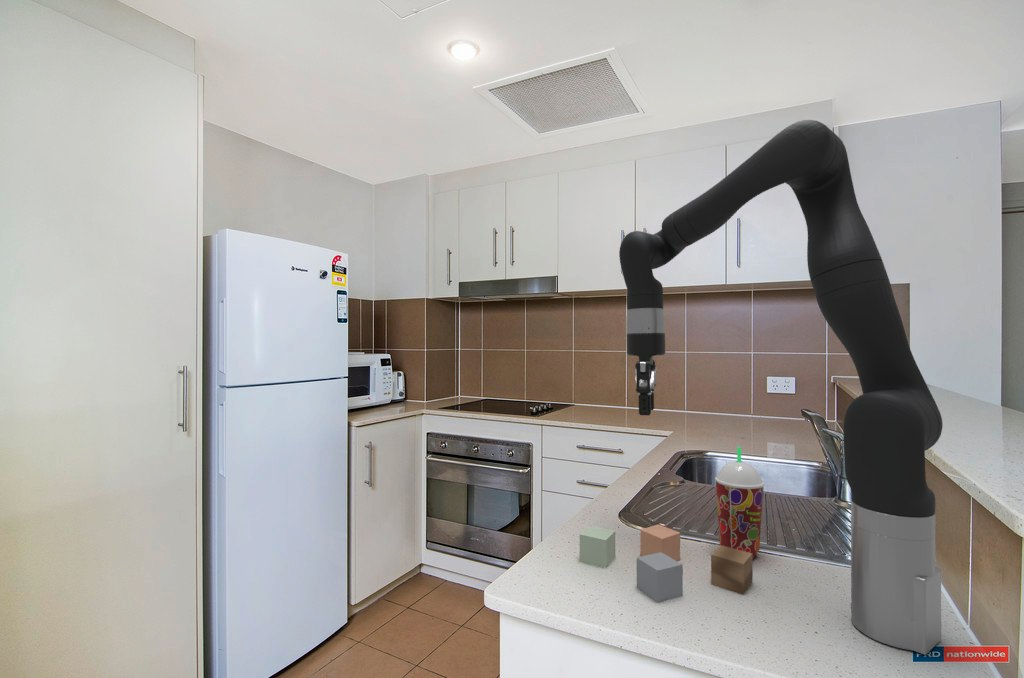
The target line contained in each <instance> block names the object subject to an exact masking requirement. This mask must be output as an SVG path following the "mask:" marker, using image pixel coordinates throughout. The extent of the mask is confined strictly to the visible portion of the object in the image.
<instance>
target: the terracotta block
mask: <svg viewBox="0 0 1024 678" xmlns="http://www.w3.org/2000/svg"><path fill="white" fill-rule="evenodd" d="M639 534H640V538H639V540H640V543H639V544H640V545H639V546H640V547H639V549H640V556H639V557H641V556H646V555H650V554H655V553H659V552H662V553H663V554H665V555H667V556H669V557H670V558H672V559H674V560H676V561H677V562H679V561H681V532H679V531H677V530H674V529H671V528H670V527H666V526H664V525H661V524H659V523H657V524H655V525H652V526H648V527H645V528H643V529H640V533H639Z"/></svg>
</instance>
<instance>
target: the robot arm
mask: <svg viewBox="0 0 1024 678" xmlns="http://www.w3.org/2000/svg"><path fill="white" fill-rule="evenodd" d="M851 173H852V172H851V168H850V162H849V157H848V152H847V148H846V146H845V144H844V141H842V139H841V138H840V137H839V136H838V135H837V134H836V133H835V132H834V131H833V130H831V129H830V128H829V127H828V125H826V124H824V123H822V122H820V121H818V120H814V119H803V120H799V121H796V122H794V123H792V124H790V125H788V126H787V127H785V128H784V129H782V130H781V131H780V132H778V133H777V134H776V135H774V136H772V138H770V139H769V140H768V141H767V142H766V143H765V144H763V146H761V147H760V148H759V149H757V150H756V152H754V153H753V154H752V155H751V156H750V157H749V158H747V159H746V160H745V161H743V162H742V163H741V164H740V165H738V167H736V168H735V169H734V170H732V171H731V172H730V173H729V174H727V175H726V176H725V177H724V178H722V179H721V180H720V181H719V182H717V183H716V184H715V185H713V186H712V187H710V188H709V189H707V190H706V191H705V192H703V193H702V194H700V195H698V196H697V197H696V198H694V199H693V200H690V201H689V202H687V203H686V204H684V205H682V206H681V207H680V208H678V209H676V210H675V211H673V212H671V213H670V214H669V215H667V216H666V217H665V218H664V219H663V220H662V223H661V229H660V230H659V231H657V232H655V233H653V234H652V233H649V232H645V231H641V230H634V231H631V232H629V233H627V234H626V235H625V236H624V238H623V239H622V241H621V244H620V246H619V252H618V254H619V255H618V257H619V263H620V264H619V265H620V268H621V272H622V277H623V280H624V282H625V286H626V290H627V292H626V293H627V295H626V297H627V298H626V305H627V306H626V307H627V309H626V310H627V315H626V323H625V324H626V326H625V327H626V354H627V355H628V356H631V357H632V356H635V357H638V361H636V363H635V366H634V371H635V385H636V388H635V391H636V394H637V396H638V415H640V416H651V414H652V411H653V410H654V409H655V392H656V386H657V373H658V371H657V370H658V366H657V364H656V360H655V359H654V358H653V357H654V356H664V355H665V354H666V322H665V321H666V320H665V312H664V290H663V289H664V288H663V284H662V283H661V281H659V280H658V279H656V278H655V276H654V272H653V270H655V269H658V268H661V267H663V266H665V265H667V264H668V263H669V262H671V261H672V260H673V259H675V258H676V257H677V256H678V255H679V254H680V253H681V252H683V251H684V250H685V249H686V248H687V247H689V246H691V245H693V244H695V243H697V242H698V241H701V240H702V239H704V238H706V237H708V236H709V235H711V234H712V233H715V231H717V230H718V229H720V228H721V227H723V226H724V225H725V224H726V223H727V222H728V221H729V220H730V219H732V217H733V216H734V215H735V214H736V213H737V212H738V211H739V210H740V209H741V208H742V207H744V206H745V205H746V204H748V203H749V202H750V201H751V200H753V199H754V198H756V197H757V196H759V195H761V194H763V193H764V192H766V191H768V190H771V189H773V188H775V187H778V186H781V185H783V184H786V185H788V186H789V187H790V188H791V189H792V191H793V193H794V195H795V197H796V199H797V201H798V204H799V207H800V209H801V211H802V214H803V217H804V220H805V223H806V224H805V225H806V229H807V230H806V231H807V245H806V246H807V247H806V248H807V249H806V255H807V256H806V258H807V270H808V275H809V278H810V279H809V280H810V283H811V284H812V285H811V286H812V288H813V289H812V290H813V292H814V295H815V299H816V302H817V304H818V308H819V309H820V312H821V314H822V316H823V317H824V320H825V321H826V323H827V324H828V326H829V328H830V329H831V330H832V331H833V333H834V335H835V336H836V337H837V339H838V340H839V341H840V343H841V344H842V346H843V347H844V348H845V350H846V352H847V353H848V354H849V356H850V358H851V359H852V362H853V364H854V367H855V370H856V373H857V377H858V380H859V383H860V387H861V391H862V394H861V395H859V396H857V397H856V398H854V399H853V400H852V401H851V402H850V403H849V405H848V406H847V408H846V409H845V410H846V411H845V412H844V413H845V414H844V418H843V426H842V427H843V428H842V429H843V430H842V431H843V433H842V436H843V455H844V456H843V457H844V459H843V460H844V472H845V473H844V474H845V479H846V481H847V483H848V485H849V489H850V522H851V523H850V595H851V596H850V611H851V612H850V613H851V614H850V620H851V622H852V624H853V625H854V627H855V628H856V629H857V630H858V631H860V632H861V633H863V634H864V635H865V636H867V637H869V638H871V639H873V640H875V641H877V642H880V643H882V644H885V645H888V646H891V647H894V648H897V649H903V650H908V651H914V652H916V653H919V654H921V655H923V656H924V655H925V656H926V655H927V654H929V652H930V651H931V650H933V648H935V646H937V644H938V643H939V642H940V641H941V640H942V570H941V568H940V567H937V566H936V495H935V493H934V492H933V490H932V489H931V488H929V485H928V483H927V479H926V478H927V477H926V451H928V450H929V449H931V448H932V447H933V446H934V445H936V443H937V442H939V439H940V438H941V436H942V431H943V417H942V414H941V411H940V409H939V407H938V405H937V402H936V401H935V399H934V397H933V395H932V393H931V390H930V389H929V386H928V384H927V383H926V380H925V378H924V377H923V374H922V373H921V370H920V368H919V366H918V364H917V362H916V360H915V358H914V355H913V352H912V350H911V347H910V344H909V340H908V337H907V335H906V330H905V327H904V323H903V320H902V317H901V314H900V310H899V307H898V305H897V302H896V299H895V296H894V291H893V289H892V286H891V282H890V279H889V275H888V272H887V269H886V267H885V263H884V261H883V259H882V256H881V254H880V251H879V249H878V247H877V244H876V241H875V238H874V237H873V234H872V233H871V230H870V227H869V225H868V223H867V221H866V219H865V217H864V215H863V213H862V210H861V209H860V206H859V204H858V200H857V195H856V193H855V187H854V183H853V178H852V174H851Z"/></svg>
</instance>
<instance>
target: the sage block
mask: <svg viewBox="0 0 1024 678" xmlns="http://www.w3.org/2000/svg"><path fill="white" fill-rule="evenodd" d="M614 559H616V530H613V529H609V528H604V527H600V526H593V525H589V526H587V528H585V529H584V530H583V531H582V532H580V533H579V562H580V563H584V564H589V565H592V566H597V567H600V568H604V569H607V567H608V566H609V565H610V564H611V563H612V562H613V561H614Z"/></svg>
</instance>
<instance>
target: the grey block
mask: <svg viewBox="0 0 1024 678" xmlns="http://www.w3.org/2000/svg"><path fill="white" fill-rule="evenodd" d="M683 568H684V567H683V563H680V562H679V561H676V560H674V559H672V558H670V557H669V556H667V555H665V554H663V553H662V552H659V553H655V554H650V555H646V556H638V557H636V589H638V590H639V591H641V593H643V594H644V595H646V596H647V597H649V598H650V599H652V600H653V601H654V602H655V603H662V602H666V601H670V600H672V599H673V600H674V599H676V598H680V597H683V595H684V594H683V593H684V590H683V589H684V588H683V587H684V585H683V584H684V583H683V579H684V576H683V575H684V570H683Z"/></svg>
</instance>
